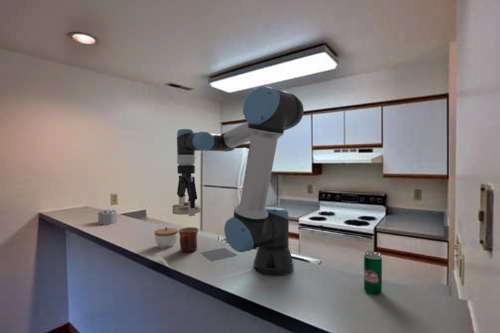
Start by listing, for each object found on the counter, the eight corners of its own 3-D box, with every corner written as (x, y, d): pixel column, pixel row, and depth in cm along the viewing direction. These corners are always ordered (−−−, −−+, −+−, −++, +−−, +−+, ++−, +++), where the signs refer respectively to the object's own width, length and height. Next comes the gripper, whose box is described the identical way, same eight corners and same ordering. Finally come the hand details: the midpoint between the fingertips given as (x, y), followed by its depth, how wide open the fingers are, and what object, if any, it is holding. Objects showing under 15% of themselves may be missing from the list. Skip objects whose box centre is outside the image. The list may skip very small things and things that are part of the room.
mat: (237, 257, 113) (237, 255, 113) (211, 263, 107) (211, 261, 107) (224, 249, 124) (224, 247, 123) (200, 254, 117) (200, 252, 117)
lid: (204, 212, 117) (204, 202, 117) (177, 215, 111) (177, 205, 110) (194, 208, 127) (194, 199, 127) (169, 211, 121) (169, 202, 121)
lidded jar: (169, 251, 122) (168, 230, 122) (149, 249, 126) (149, 229, 126) (182, 244, 132) (182, 225, 132) (164, 242, 136) (163, 224, 136)
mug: (184, 248, 126) (183, 226, 126) (201, 249, 124) (201, 227, 124) (171, 257, 114) (171, 233, 114) (190, 259, 112) (190, 234, 112)
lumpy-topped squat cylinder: (113, 220, 189) (113, 208, 188) (119, 223, 179) (119, 210, 179) (96, 222, 181) (96, 210, 181) (102, 226, 172) (102, 212, 172)
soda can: (361, 291, 83) (361, 253, 83) (367, 286, 86) (367, 249, 86) (378, 297, 79) (378, 257, 79) (384, 291, 83) (384, 253, 83)
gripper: (204, 164, 110) (205, 217, 111) (185, 164, 131) (185, 208, 131) (187, 165, 106) (187, 219, 107) (169, 164, 127) (170, 210, 127)
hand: (186, 213), depth 119 cm, fingers closed on lid, 12 cm apart
